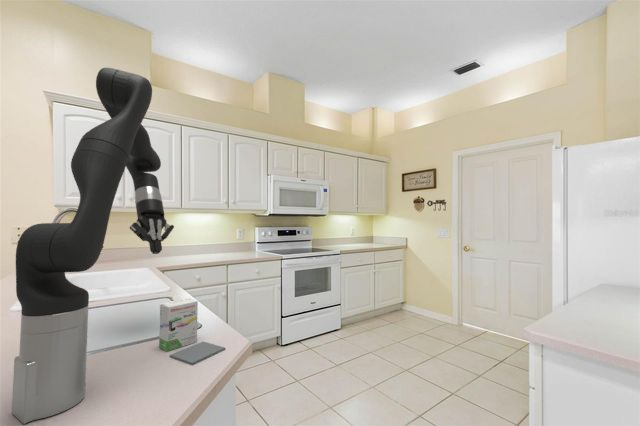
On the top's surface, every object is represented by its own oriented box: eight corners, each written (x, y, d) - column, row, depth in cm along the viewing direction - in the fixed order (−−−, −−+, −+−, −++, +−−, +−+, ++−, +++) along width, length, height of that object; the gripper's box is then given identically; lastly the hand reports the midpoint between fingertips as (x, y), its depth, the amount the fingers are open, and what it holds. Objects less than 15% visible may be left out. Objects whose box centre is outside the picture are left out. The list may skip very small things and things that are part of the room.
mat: (192, 365, 68) (192, 363, 68) (169, 357, 72) (169, 355, 72) (225, 349, 77) (225, 347, 77) (203, 343, 81) (203, 341, 81)
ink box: (166, 352, 75) (167, 306, 76) (158, 347, 78) (159, 303, 79) (197, 342, 82) (198, 300, 82) (189, 338, 85) (190, 297, 85)
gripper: (132, 194, 86) (138, 248, 81) (175, 200, 97) (184, 247, 91) (121, 206, 90) (127, 258, 84) (164, 211, 101) (172, 257, 95)
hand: (156, 252), depth 88 cm, fingers closed
